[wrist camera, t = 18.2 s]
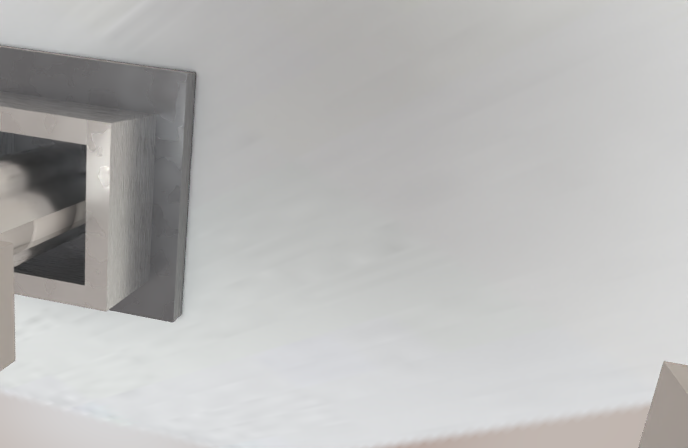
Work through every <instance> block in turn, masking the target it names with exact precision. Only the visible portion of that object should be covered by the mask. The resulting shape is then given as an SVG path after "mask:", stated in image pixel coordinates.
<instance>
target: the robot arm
mask: <svg viewBox="0 0 688 448" xmlns="http://www.w3.org/2000/svg"><path fill="white" fill-rule="evenodd" d="M14 361H15V314H14V262H13V243H10V242H5V241H0V371H1V370H3V369H4V368H5V367H7V366H8V365H10V364H11V363H13V362H14ZM638 448H688V365H682V364H677V363H671V362H666V361H664V362H663V365H662V369H661V372H660V376H659V379H658V382H657V386H656V389H655V393H654V396H653V399H652V403H651V406H650V410H649V413H648V416H647V420H646V423H645V427H644V430H643V433H642V437H641V440H640V444H639V447H638Z"/></svg>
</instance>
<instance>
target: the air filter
mask: <svg viewBox="0 0 688 448" xmlns="http://www.w3.org/2000/svg"><path fill="white" fill-rule="evenodd" d="M86 164H87V147H86V146H83V145H81V144H78V143H71V142H64V143H56V144H52V145H47V146H42V147H38V148H33V149H28V150H24V151H19V152H14V153H10V154H5V155H0V241H5V242H10V243H13V262H14V267H15V266H17V265H20V264H22V263H24V262H26V261H28V260H30V259H32V258H34V257H36V256H38V255H40V254H42V253H45V252H47V251H49V250H51V249H53V248H55V247H57V246H59V245H61V244H63V243H65V242H68V241H70V240H72V239H74V238H76V237H78V236H80V235H82V234H84V233H86Z"/></svg>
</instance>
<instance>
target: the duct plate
mask: <svg viewBox="0 0 688 448" xmlns="http://www.w3.org/2000/svg"><path fill="white" fill-rule="evenodd" d="M195 80H196V73H194V72H187V71H179V70H172V69H165V68H158V67H151V66H144V65H137V64H130V63H122V62H115V61H108V60H101V59H94V58H87V57H80V56H73V55H66V54H58V53H51V52H44V51H37V50H30V49H23V48H16V47H9V46H1V45H0V155H5V154H10V153H14V152H19V151H24V150H28V149H33V148H38V147H42V146H47V145H52V144H56V143H64V142H71V143H78V144H81V145H83V146H86V147H87V164H86V233H84V234H82V235H80V236H78V237H76V238H74V239H72V240H70V241H68V242H65V243H63V244H61V245H59V246H57V247H55V248H53V249H51V250H49V251H47V252H45V253H42V254H40V255H38V256H36V257H34V258H32V259H30V260H28V261H26V262H24V263H22V264H20V265H17V266H15V267H14V294H18V295H23V296H28V297H34V298H39V299H44V300H49V301H54V302H60V303H65V304H70V305H75V306H80V307H86V308H91V309H96V310H101V311H108V310H111V311H116V312H122V313H127V314H132V315H137V316H142V317H148V318H153V319H158V320H163V321H169V322H174V321H175V320H176V319H177V318H178V317H179V316H180V315H181V314H182V297H183V280H184V264H185V247H186V230H187V214H188V197H189V180H190V163H191V147H192V130H193V113H194V96H195Z"/></svg>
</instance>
